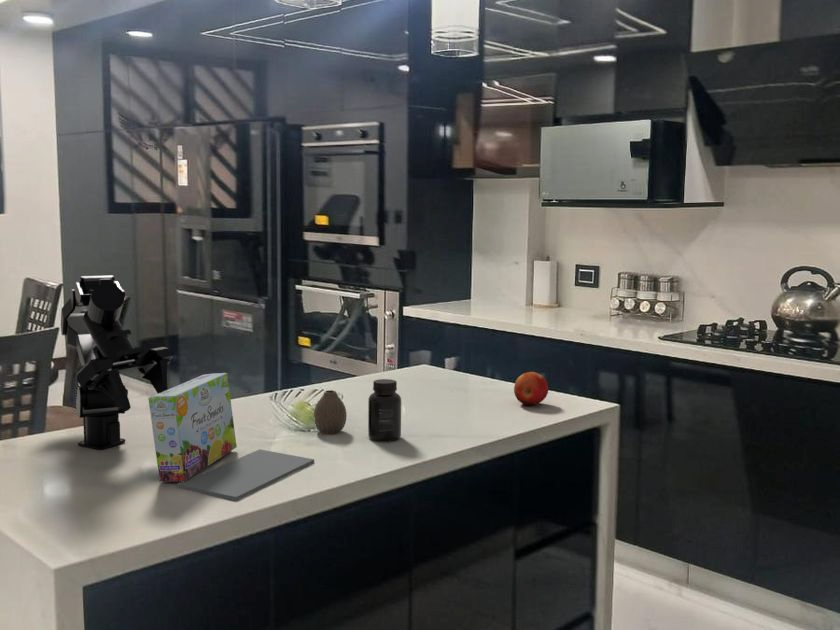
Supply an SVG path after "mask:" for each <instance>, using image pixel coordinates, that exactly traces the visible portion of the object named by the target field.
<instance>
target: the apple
mask: <svg viewBox="0 0 840 630" xmlns="http://www.w3.org/2000/svg"><path fill="white" fill-rule="evenodd" d="M513 392H514V396H515V398H516V399H517V401H518V402H519V403H521V404H522V405H526V406H533V405H536V404H540V403H542V402H543V401H544V400H545V399H546V398H547V396H548V394H549V385H548V382H547V379H546V378H545V377H544V376H543V375H541V374H540V373H538V372H535V371H529V372H524V373H522V374H521V375H519V376H518V377H517V379H516V380H515V382H514V387H513Z"/></svg>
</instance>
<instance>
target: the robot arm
mask: <svg viewBox="0 0 840 630" xmlns="http://www.w3.org/2000/svg"><path fill="white" fill-rule="evenodd" d="M115 279H116V278H115V276H114V274H113V275H112V274H109V275H103V274H102V275H80V276H79V277H78V279H77V281H76V282H74V288H71V289H70V298H69V300H67V301H66V302H65V304H64V305H63V306H62V307H61V310H60V332H61V335H62V336H64V338H65V341H66V344H67V345H69V346H72V347H74V348H76V352H77V354H78V358H79V361H80V365H79V366H78V367H77V370H76V373H77V374H76V381H77V383H78V384H79V386H77V392H76V400H75V407H76V408H75V409H76V410H75V411H76V414H77V415H78V417H79V418H80V419H82V420H83V421H82V422H83V440H80V441H78V442H77V446H83V447H87V448H92V449H96V450H104V449H107V448H109V447H110V448H111V447H114V446H116V445H118V444H122V443H125V442H126V439H125V438H121V422H120V420H119V414H125V413H126V412H128V411H129V410H130V409H131V407H132V406H131V403H130V399H129V397H128V395H129V390H128V389H127V388H126V385H125V383H124V382H123V380H122V377H121V375H120V373H122V372H128V371H133V370H137V369H138V371H139V372H140V373H141V374H142V375H143V376H142V377H141V379H144V380H147V381H149V382H150V383H151V385H152V387H153V388H154V390H155V391H156V394H159V393H161V392H164V391H166V390H168V367H169V364H171V360H172V359H173V358H174V356H173V353H172V352H171V351H170V349H169V348H168V347H164V346H159V347H155V348H150V349H149V350H147V352H145V354H144V355H143V356H141V357H139V355H140V354H141V353H143V352H142V349H141V348H140V347H134V344H133V343H132V342H131V340H130V338H129V337H130V336H131V335H132V332H131V330H130V329H124V327H123V325H122V324H121V322H120V320H119V319H120V317H121V312H122V310H123V307H124V303H125V298H126V290H124V288H123V287H122V286H121V285H120V282H119V280H115ZM76 307H78V308H79V307H88V308H87V310H86V311H85V312H76V313H74V312H75V311H76Z"/></svg>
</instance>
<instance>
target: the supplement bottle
mask: <svg viewBox="0 0 840 630" xmlns="http://www.w3.org/2000/svg"><path fill="white" fill-rule="evenodd" d="M372 383H373V387H372V391H374V392H372V393H371V394H370V395H369V396H368V401H367V402H368V404H367V405H368V411H367V412H368V415H367V417H368V418H367V419H368V421H367V423H368V426H367V427H368V429H367V432H368V438H369V439H370V440H371V441H375V442H383V443H384V442H385V443H386V442H395V441H397V440H399V439H401V436H402V397H401V395H400V394H399V393H397V392H396V391H397V390H398V388H397V385H398V382H397V380H394V379H389V378H387V379H386V378H380V379H375V380H373V382H372Z"/></svg>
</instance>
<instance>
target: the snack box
mask: <svg viewBox="0 0 840 630" xmlns="http://www.w3.org/2000/svg"><path fill="white" fill-rule="evenodd" d="M228 374H229V373H228V372H222V373H218V372H217V373H208V374H202V375H200V376H197V377H195V378H192V379H190V380H187V381H185V382H183V383H181V384H177V385H176V386H173V387H171V388H169V389H168V390H166V391H164V392H161V393H159V394H158V393H156V394H155V395H154V394H153V395H152V396H150V397H148V398H147V400H148V406H149V413H150V420H151V427H152V434H153V435H152V436H153V441H154V442H153V443H154V448H155V456H156V464H157V472H158V480H159V482H160V483H162V482H164V483H165V482H166V483H167V482H183V481H186V480H188V479H190V478H193V477H194V476H196V475H197V474H198V473H199V472H200V471H203V470H204V469H205V468H207V467H209V466H210V465H212V464H213V463H215V462H216V461H218V460H219V459H221V458H222V457H224V456H225V455H228V453H230V452H232V451H233V450H235V449H236V448H237V447H238V446H237V445H238V444H237V439H236V432H235V422H234V416H233V410H232V409H233V407H232V401H231V393H230V392H231V391H230V385H229V384H230V383H229V376H228Z"/></svg>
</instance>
